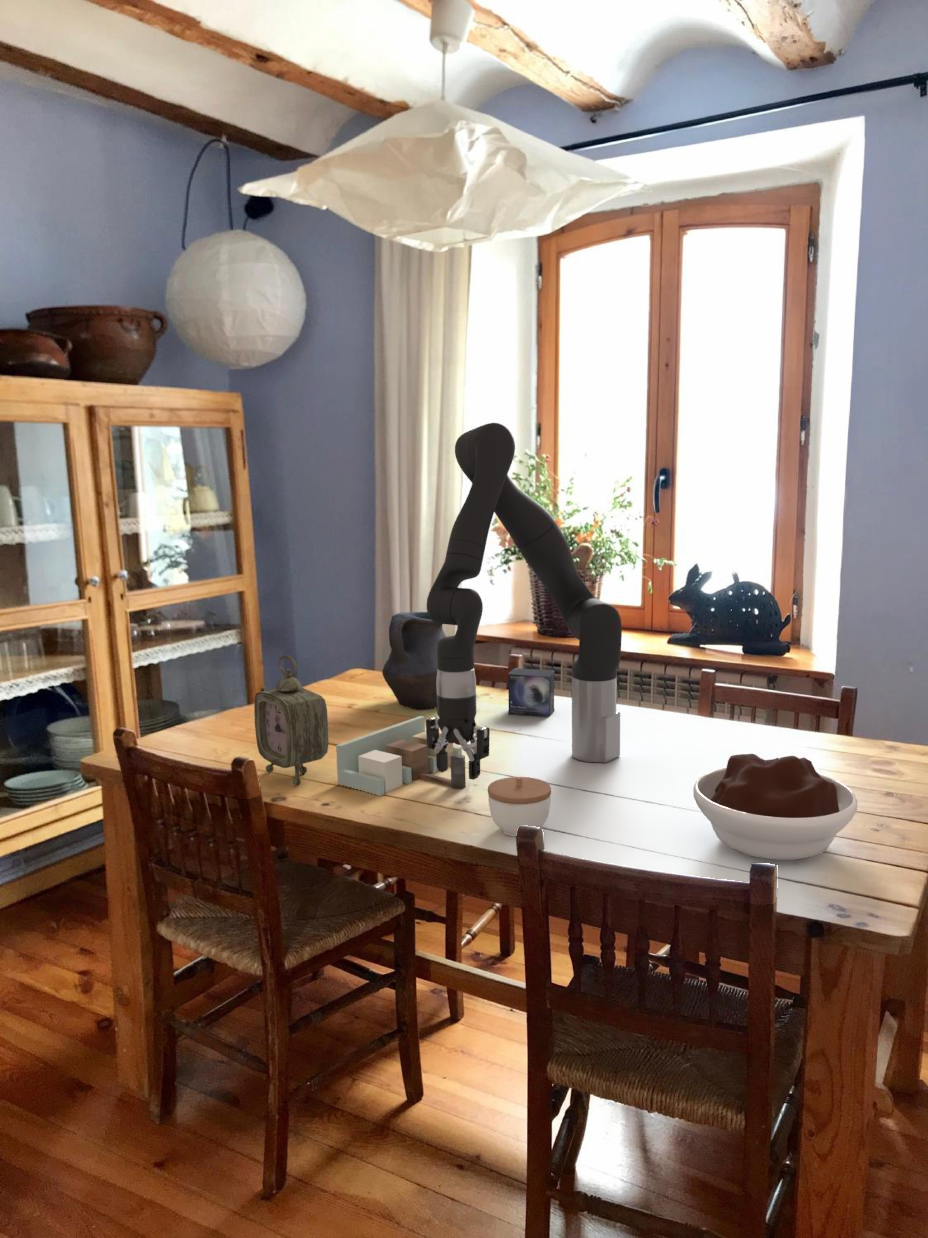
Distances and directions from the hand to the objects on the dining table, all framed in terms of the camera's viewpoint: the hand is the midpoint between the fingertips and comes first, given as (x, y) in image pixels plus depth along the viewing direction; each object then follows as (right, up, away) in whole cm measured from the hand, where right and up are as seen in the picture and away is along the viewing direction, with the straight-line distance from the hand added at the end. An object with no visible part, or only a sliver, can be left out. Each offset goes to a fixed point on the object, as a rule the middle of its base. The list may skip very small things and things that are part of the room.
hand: (458, 774), depth 185 cm
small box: (+18, +7, +52) cm, 55 cm away
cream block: (-15, -3, +2) cm, 15 cm away
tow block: (-6, -2, +5) cm, 8 cm away
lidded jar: (+11, -6, -21) cm, 25 cm away
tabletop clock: (-33, -2, +8) cm, 34 cm away
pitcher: (-10, +8, +60) cm, 62 cm away
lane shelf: (-11, -1, +9) cm, 14 cm away
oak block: (-5, 0, +15) cm, 15 cm away
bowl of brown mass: (+51, -7, -30) cm, 59 cm away
